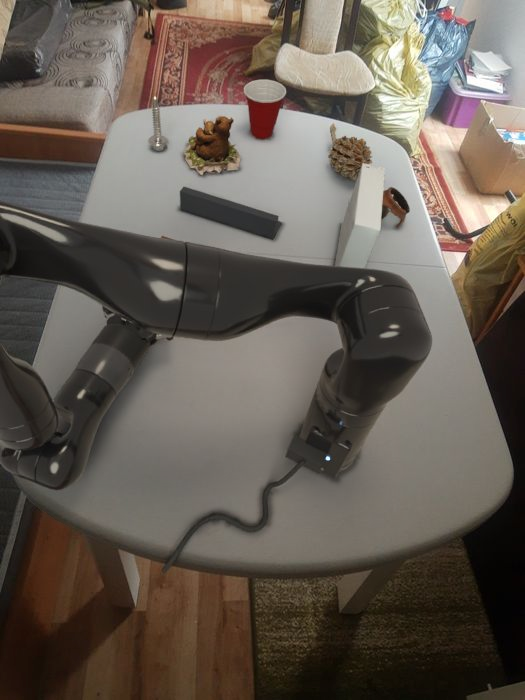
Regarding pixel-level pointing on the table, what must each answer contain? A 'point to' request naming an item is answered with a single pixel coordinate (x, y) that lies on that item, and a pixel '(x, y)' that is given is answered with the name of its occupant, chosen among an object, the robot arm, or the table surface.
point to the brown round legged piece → (394, 204)
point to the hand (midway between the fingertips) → (162, 286)
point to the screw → (157, 129)
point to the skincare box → (362, 218)
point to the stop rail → (229, 213)
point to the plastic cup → (263, 106)
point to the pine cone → (348, 154)
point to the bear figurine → (212, 147)
